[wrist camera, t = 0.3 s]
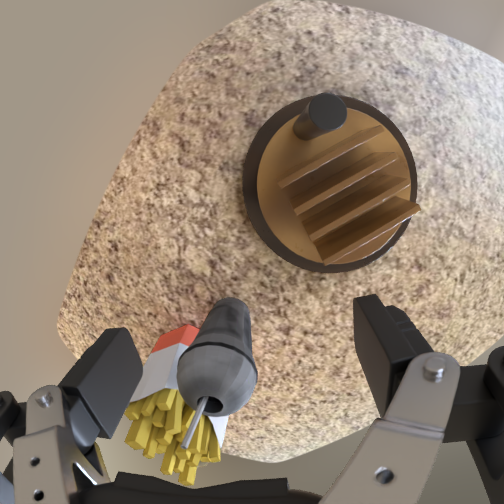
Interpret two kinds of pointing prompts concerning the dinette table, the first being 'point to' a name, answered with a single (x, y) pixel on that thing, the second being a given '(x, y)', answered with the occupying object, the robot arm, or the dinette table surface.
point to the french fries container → (171, 413)
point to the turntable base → (252, 194)
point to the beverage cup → (218, 364)
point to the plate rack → (334, 183)
